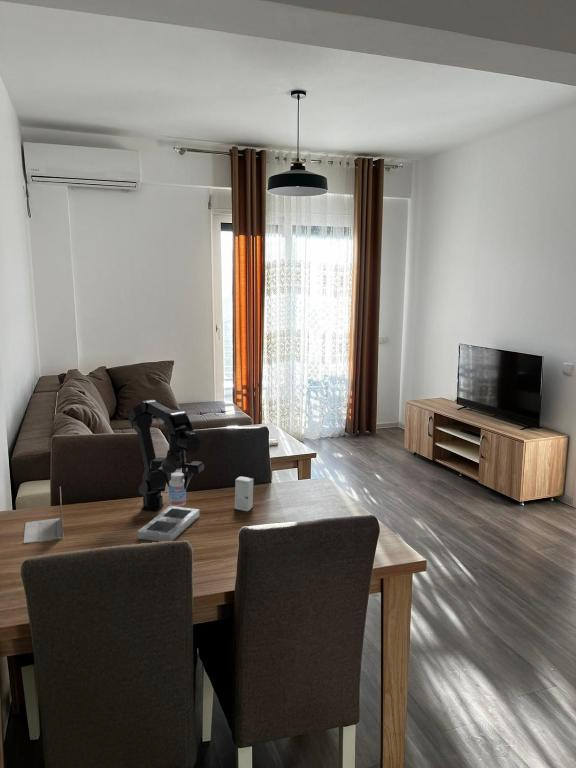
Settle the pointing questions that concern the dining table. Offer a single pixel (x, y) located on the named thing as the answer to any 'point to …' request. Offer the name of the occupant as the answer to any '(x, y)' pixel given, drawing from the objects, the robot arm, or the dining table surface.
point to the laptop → (44, 529)
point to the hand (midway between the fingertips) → (177, 487)
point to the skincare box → (243, 493)
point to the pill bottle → (177, 490)
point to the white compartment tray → (168, 524)
